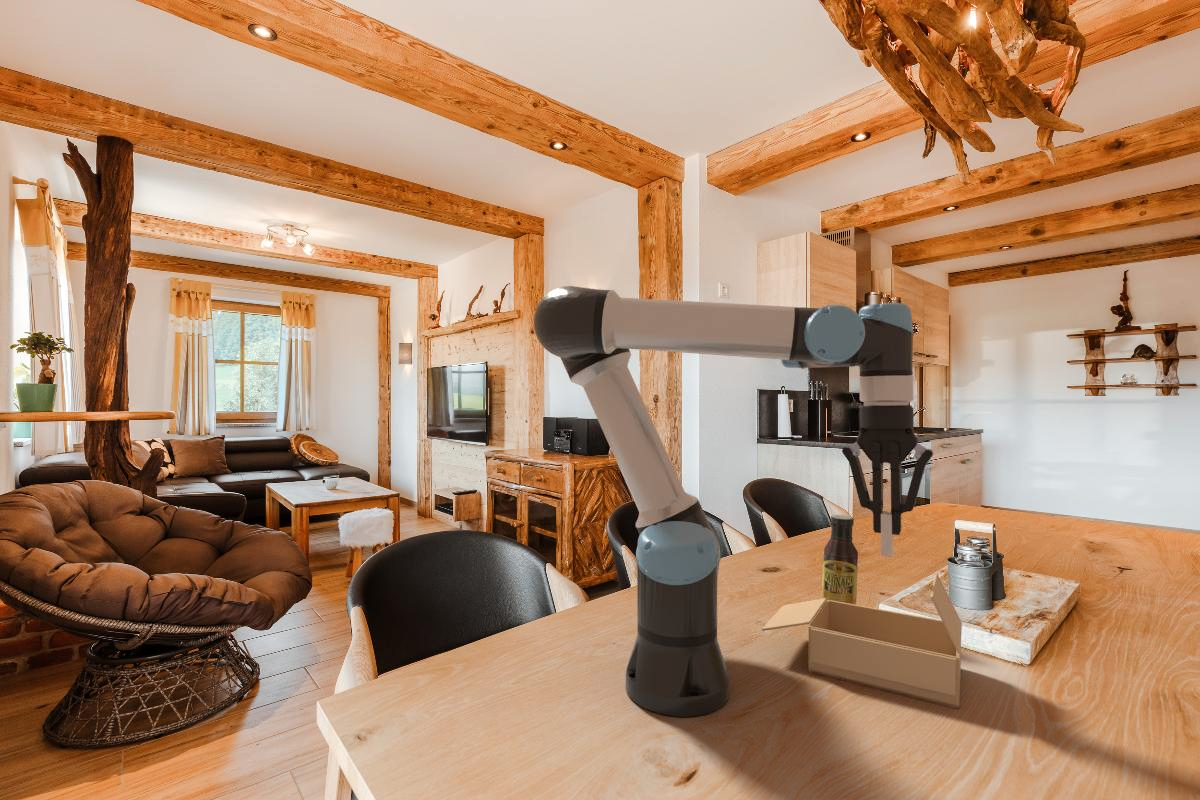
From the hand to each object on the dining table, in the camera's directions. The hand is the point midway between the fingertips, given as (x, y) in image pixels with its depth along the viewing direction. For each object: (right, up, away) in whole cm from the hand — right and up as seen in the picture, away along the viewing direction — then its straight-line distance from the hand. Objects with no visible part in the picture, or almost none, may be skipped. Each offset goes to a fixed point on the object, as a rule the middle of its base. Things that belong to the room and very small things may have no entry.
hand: (887, 554), depth 90 cm
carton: (0, -18, 0) cm, 18 cm away
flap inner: (-9, -11, +6) cm, 15 cm away
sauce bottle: (+1, -18, +21) cm, 28 cm away
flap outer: (+8, -11, -5) cm, 15 cm away
